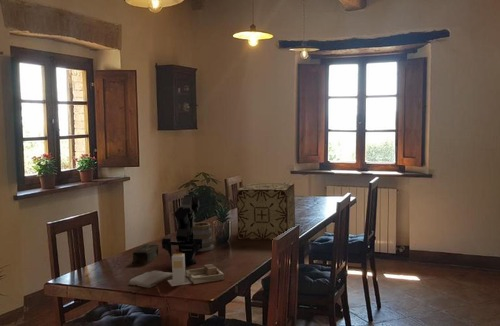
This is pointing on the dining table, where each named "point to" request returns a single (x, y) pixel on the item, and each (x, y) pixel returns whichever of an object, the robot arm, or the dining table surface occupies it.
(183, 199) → the robot arm
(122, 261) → the dining table surface
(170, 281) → the coaster
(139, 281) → the washcloth
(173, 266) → the cream box
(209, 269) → the walnut box
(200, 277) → the tray
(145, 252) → the beverage carton
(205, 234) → the tankard
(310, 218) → the dining table surface
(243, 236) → the decorative box
